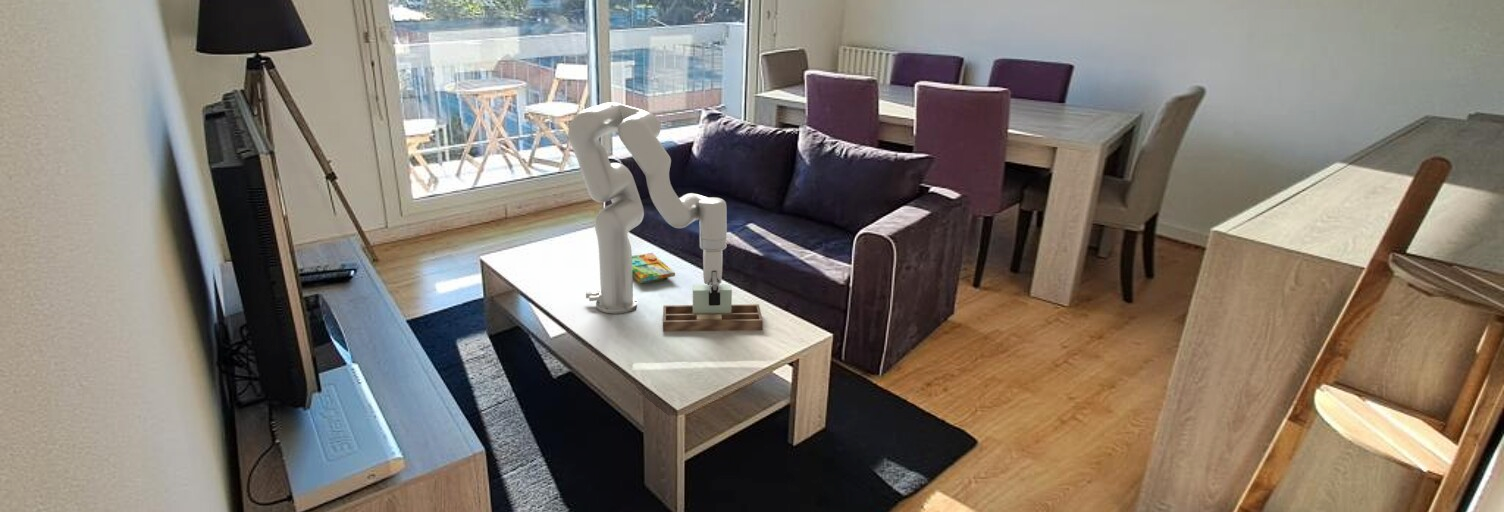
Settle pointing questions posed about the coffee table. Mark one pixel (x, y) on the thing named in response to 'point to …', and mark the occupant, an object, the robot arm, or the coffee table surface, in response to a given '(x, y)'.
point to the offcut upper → (709, 317)
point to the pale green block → (702, 299)
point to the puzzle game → (649, 268)
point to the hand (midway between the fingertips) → (713, 298)
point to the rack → (736, 320)
